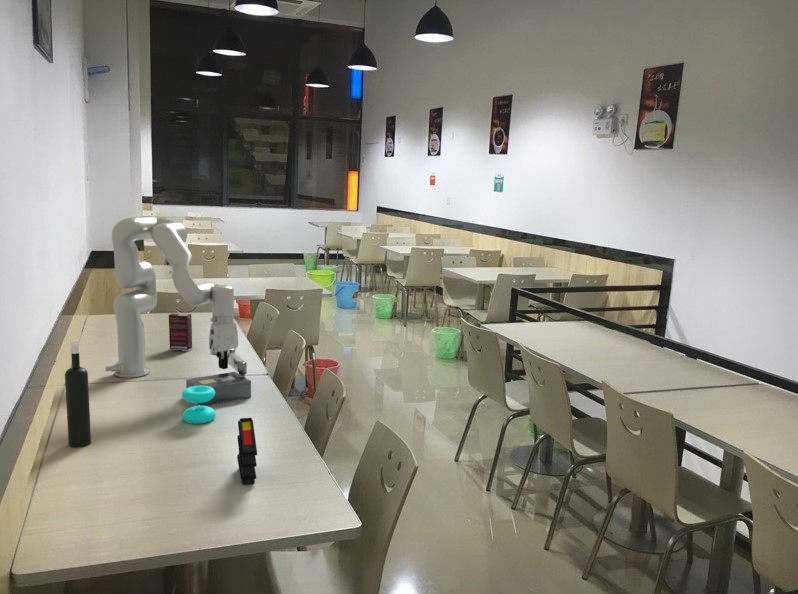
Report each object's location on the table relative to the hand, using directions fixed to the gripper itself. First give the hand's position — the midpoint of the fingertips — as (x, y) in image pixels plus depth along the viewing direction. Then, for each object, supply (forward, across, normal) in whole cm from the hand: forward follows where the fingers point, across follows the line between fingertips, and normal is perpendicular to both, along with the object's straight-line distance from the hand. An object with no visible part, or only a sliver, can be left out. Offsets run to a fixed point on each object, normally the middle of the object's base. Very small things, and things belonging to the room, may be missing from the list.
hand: (223, 368), depth 244 cm
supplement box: (+7, +20, +52) cm, 56 cm away
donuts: (+7, -27, -22) cm, 36 cm away
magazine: (+6, -45, -65) cm, 79 cm away
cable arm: (-1, +2, -4) cm, 5 cm away
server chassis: (+6, -8, -9) cm, 14 cm away
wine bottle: (+7, -61, -13) cm, 63 cm away
